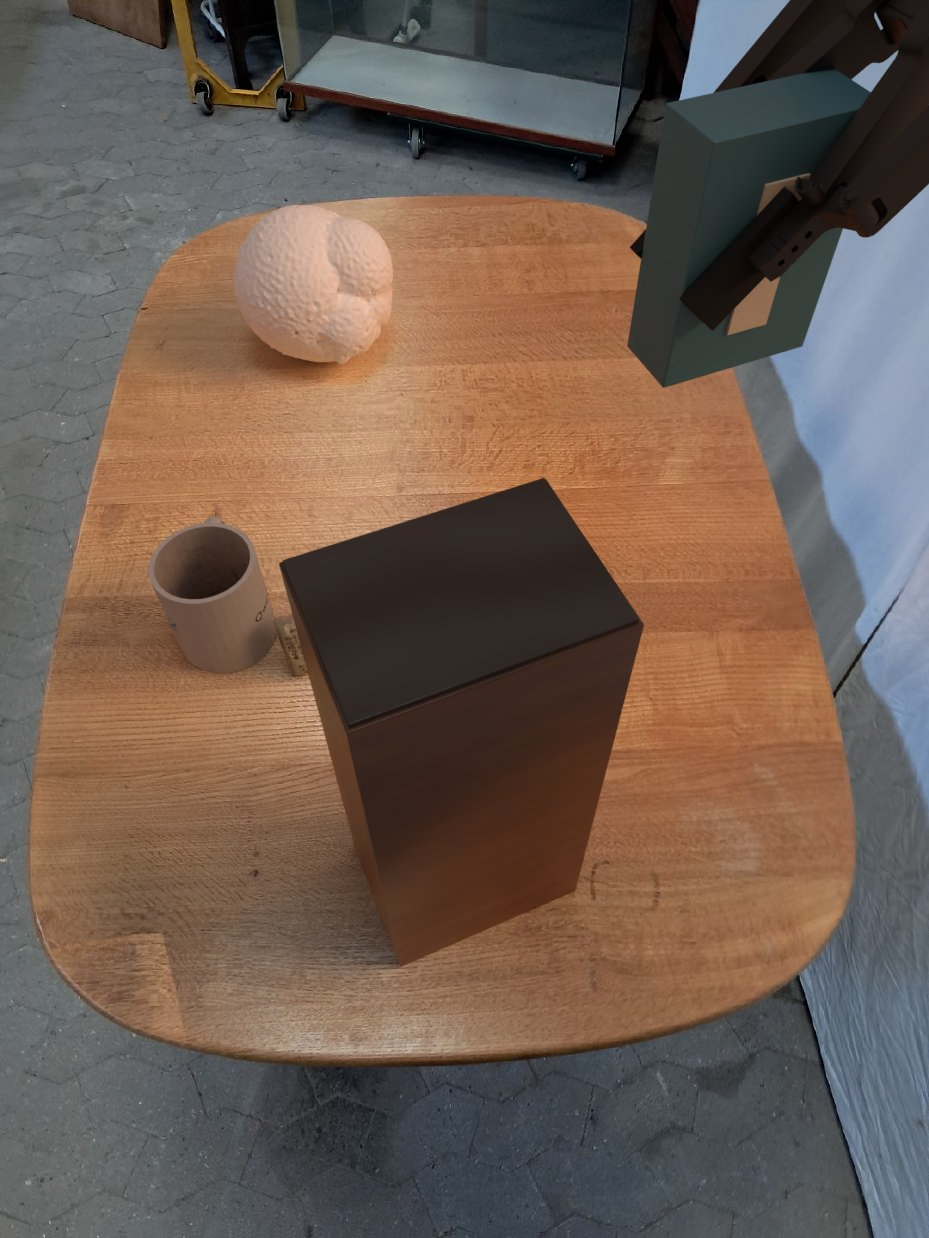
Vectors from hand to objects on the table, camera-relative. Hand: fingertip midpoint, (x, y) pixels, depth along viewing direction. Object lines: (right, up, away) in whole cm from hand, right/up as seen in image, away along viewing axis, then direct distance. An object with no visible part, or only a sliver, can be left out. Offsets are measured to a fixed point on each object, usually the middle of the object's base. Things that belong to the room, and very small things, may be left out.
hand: (671, 288), depth 46 cm
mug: (-32, -17, +37) cm, 51 cm away
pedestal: (-11, -36, +23) cm, 43 cm away
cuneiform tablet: (-20, -20, +34) cm, 45 cm away
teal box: (+4, -2, +5) cm, 6 cm away
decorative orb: (-27, +15, +61) cm, 68 cm away
